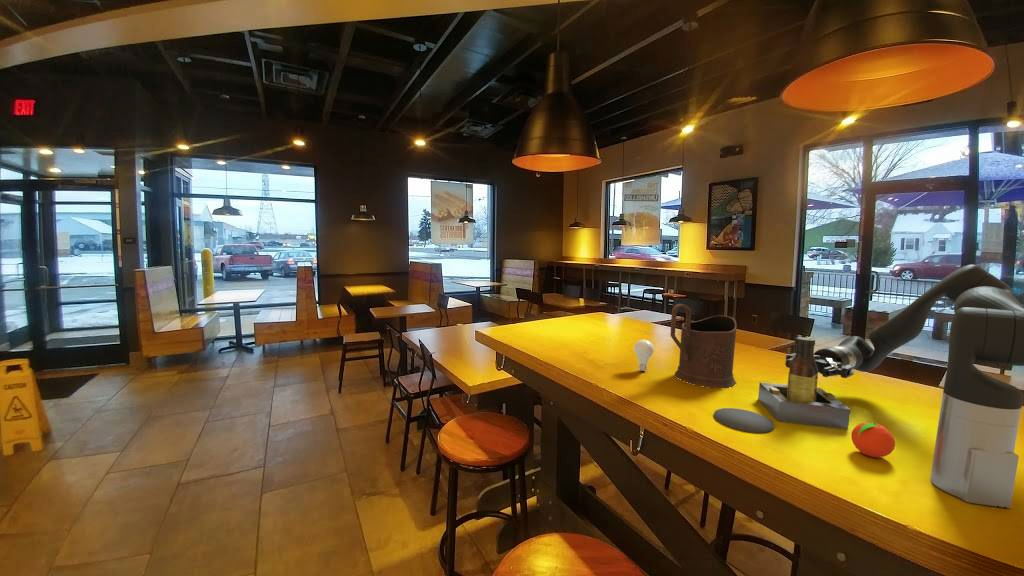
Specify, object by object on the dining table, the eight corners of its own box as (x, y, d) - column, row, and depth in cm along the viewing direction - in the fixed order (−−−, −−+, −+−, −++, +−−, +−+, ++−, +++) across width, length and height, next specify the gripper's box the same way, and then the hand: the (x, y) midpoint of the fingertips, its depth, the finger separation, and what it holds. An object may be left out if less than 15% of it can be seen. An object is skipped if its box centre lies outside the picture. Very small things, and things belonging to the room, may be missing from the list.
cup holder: (750, 385, 129) (757, 306, 127) (691, 393, 121) (697, 309, 118) (703, 367, 147) (708, 298, 144) (648, 374, 138) (653, 300, 135)
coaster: (782, 436, 95) (783, 433, 95) (720, 428, 98) (721, 426, 98) (763, 413, 107) (763, 411, 107) (709, 407, 110) (709, 405, 110)
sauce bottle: (819, 419, 104) (827, 342, 102) (791, 416, 106) (799, 341, 103) (806, 409, 111) (814, 336, 109) (780, 407, 112) (787, 335, 110)
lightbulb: (628, 369, 142) (630, 338, 141) (643, 367, 145) (645, 337, 144) (641, 375, 136) (643, 342, 135) (656, 373, 139) (658, 341, 138)
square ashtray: (848, 429, 99) (850, 405, 99) (777, 421, 103) (780, 398, 102) (818, 405, 114) (820, 385, 113) (758, 399, 117) (759, 379, 117)
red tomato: (873, 466, 82) (877, 432, 82) (837, 449, 89) (841, 418, 88) (901, 461, 85) (905, 428, 84) (864, 445, 91) (868, 414, 90)
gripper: (807, 341, 121) (777, 347, 113) (867, 353, 109) (839, 361, 101) (804, 366, 122) (775, 374, 114) (864, 381, 110) (836, 391, 102)
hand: (805, 368), depth 107 cm, fingers open, 8 cm apart
